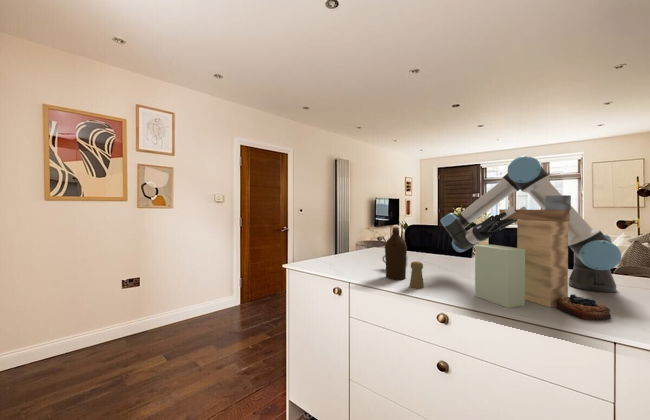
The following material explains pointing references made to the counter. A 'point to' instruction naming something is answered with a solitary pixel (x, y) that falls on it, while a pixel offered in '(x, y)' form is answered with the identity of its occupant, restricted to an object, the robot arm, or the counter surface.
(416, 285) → the cork
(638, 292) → the counter surface
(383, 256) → the teacup
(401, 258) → the olive oil
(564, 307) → the pastry
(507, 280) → the sage green upright block
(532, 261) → the oak stand
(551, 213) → the beam
